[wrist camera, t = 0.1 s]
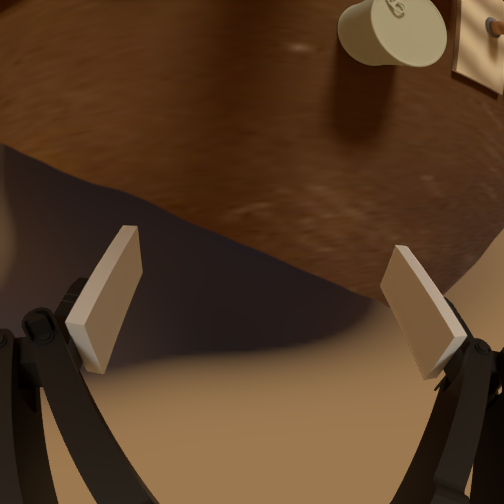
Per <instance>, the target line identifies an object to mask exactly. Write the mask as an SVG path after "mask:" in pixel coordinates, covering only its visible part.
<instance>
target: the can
mask: <svg viewBox="0 0 504 504" xmlns="http://www.w3.org/2000/svg"><path fill="white" fill-rule="evenodd" d="M337 29H338V36H339V40H340V42H341V44H342V46H343V48H344V49H345V50H346V52H347V53H348V54H349V55H350V56H351V57H353V58H354V59H355V60H357V61H359V62H361V63H363V64H366V65H371V66H380V65H406V66H412V67H425V66H429V65H431V64H433V63H435V62H436V61H437V60H438V59H439V58H440V57H441V56H442V54H443V52H444V50H445V47H446V42H447V33H446V27H445V24H444V21H443V18H442V16H441V14H440V13H439V11H438V10H437V8H436V7H435V6H434V4H433V3H432V2H431V1H430V0H365V1H363V2H361V3H359V4H356V5H353V6H351V7H349V8H347V9H346V10H345V11H344V12H343V13H342V15H341V16H340V19H339V21H338V28H337Z"/></svg>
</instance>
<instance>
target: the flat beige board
mask: <svg viewBox="0 0 504 504" xmlns="http://www.w3.org/2000/svg"><path fill="white" fill-rule="evenodd" d="M452 71H454V72H456V73H458V74H461V75H463V76H465V77H467V78H469V79H471V80H473V81H475V82H477V83H479V84H481V85H483V86H485V87H486V88H488V89H490V90H492V91H494V92H496V93H497V94H500V95H502V94H503V87H504V2H503V1H502V0H457V19H456V35H455V46H454V56H453V65H452Z"/></svg>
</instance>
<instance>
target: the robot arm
mask: <svg viewBox="0 0 504 504" xmlns="http://www.w3.org/2000/svg"><path fill="white" fill-rule="evenodd" d="M142 273H143V271H142V262H141V254H140V245H139V237H138V227H137V226H123V227H122V228H121V229H120V231H119V232H118V234H117V235H116V237H115V238H114V240H113V241H112V243H111V244H110V246H109V248H108V249H107V251H106V252H105V254H104V255H103V257H102V259H101V260H100V262H99V264H98V265H97V267H96V269H95V270H94V272H93V273H92V275H91V277H90V278H79V279H78V280H77V281H75V282H74V283H73V284H72V285H71V286H70V288H69V290H68V291H67V293H66V295H65V296H64V298H63V300H62V301H61V303H60V305H59V306H58V308H57V309H56V311H55V313H54V314H53V313H52V311H51V310H50V309H47V308H36V309H34V310H32V311H30V312H29V313H27V314H26V315H25V316H24V318H23V320H22V328H23V330H24V332H25V334H26V336H27V337H20V338H15V337H14V335H13V333H12V332H11V331H10V330H8V329H0V504H58V500H57V496H56V493H55V488H54V484H53V480H52V475H51V471H50V466H49V460H48V455H47V449H46V443H45V436H44V428H43V420H42V411H41V399H40V387H43V388H44V391H45V394H46V397H47V400H48V403H49V405H50V408H51V411H52V413H53V416H54V418H55V421H56V423H57V425H58V428H59V430H60V433H61V435H62V437H63V440H64V442H65V444H66V446H67V448H68V451H69V453H70V455H71V457H72V459H73V461H74V463H75V465H76V467H77V469H78V471H79V473H80V474H81V476H82V478H83V480H84V482H85V484H86V485H87V487H88V489H89V491H90V492H91V494H92V496H93V497H94V499H95V501H96V503H97V504H159V502H158V501H157V500H156V498H155V497H154V496H153V495H152V493H151V492H150V490H149V489H148V488H147V486H146V485H145V484H144V482H143V481H142V479H141V478H140V476H139V475H138V474H137V472H136V471H135V469H134V468H133V466H132V465H131V463H130V462H129V460H128V459H127V457H126V456H125V454H124V452H123V451H122V449H121V447H120V446H119V444H118V443H117V441H116V440H115V438H114V436H113V434H112V433H111V431H110V429H109V427H108V425H107V424H106V422H105V420H104V418H103V416H102V415H101V413H100V411H99V409H98V407H97V405H96V403H95V401H94V399H93V397H92V395H91V393H90V391H89V389H88V387H87V385H86V383H85V381H84V379H83V376H82V374H81V373H80V368H81V365H82V363H83V364H84V366H85V368H86V370H87V371H89V372H94V373H100V374H104V373H105V370H106V367H107V364H108V361H109V359H110V356H111V353H112V350H113V347H114V344H115V342H116V339H117V336H118V333H119V330H120V328H121V325H122V323H123V320H124V317H125V315H126V312H127V310H128V307H129V304H130V302H131V300H132V297H133V295H134V292H135V290H136V287H137V285H138V282H139V280H140V277H141V275H142ZM380 287H381V289H382V291H383V293H384V295H385V297H386V299H387V301H388V303H389V305H390V307H391V309H392V311H393V313H394V315H395V317H396V319H397V321H398V324H399V326H400V328H401V330H402V332H403V334H404V336H405V338H406V341H407V343H408V345H409V347H410V349H411V351H412V354H413V356H414V358H415V361H416V363H417V365H418V367H419V370H420V372H421V374H422V377H423V379H424V380H426V379H432V378H437V376H438V375H439V374H440V373H441V371H442V370H443V369H444V372H445V374H446V375H445V376H444V378H443V379H442V380H441V382H440V383H439V384H438V385H437V386H436V388H435V389H434V390H435V391H436V390H437V389H438V388H439V387H440V389H439V392H438V395H437V398H436V401H435V404H434V407H433V410H432V413H431V416H430V418H429V421H428V423H427V426H426V429H425V431H424V434H423V436H422V439H421V441H420V444H419V446H418V449H417V451H416V453H415V455H414V458H413V460H412V462H411V464H410V466H409V468H408V470H407V473H406V475H405V477H404V479H403V481H402V483H401V484H400V487H399V488H398V490H397V492H396V494H395V496H394V498H393V500H392V501H391V502H390V504H504V347H503V349H502V350H501V351H500V352H497V351H492V350H491V348H490V346H489V345H488V344H487V343H486V342H485V341H483V340H481V339H478V338H474V337H473V336H472V334H471V332H470V330H469V329H468V327H467V325H466V324H465V322H464V321H463V319H461V316H460V314H459V313H457V310H456V308H455V307H454V305H453V304H452V303H451V302H450V301H449V300H448V299H447V298H446V297H443V296H442V295H441V293H440V292H439V290H438V289H437V287H436V286H435V284H434V283H433V281H432V280H431V278H430V277H429V276H428V274H427V273H426V271H425V270H424V269H423V267H422V266H421V264H420V263H419V262H418V260H417V259H416V258H415V256H414V255H413V254H412V252H411V251H410V250H409V248H408V247H407V246H399V245H395V248H394V251H393V253H392V256H391V259H390V262H389V264H388V267H387V269H386V272H385V275H384V277H383V280H382V282H381V285H380ZM501 386H502V392H501V394H498V389H500V387H501ZM473 462H474V463H473ZM472 465H473V475H472V484H471V492H470V499H469V497H468V496H466V495H465V494H464V491H465V487H466V484H467V481H468V478H469V475H470V472H471V468H472Z"/></svg>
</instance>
